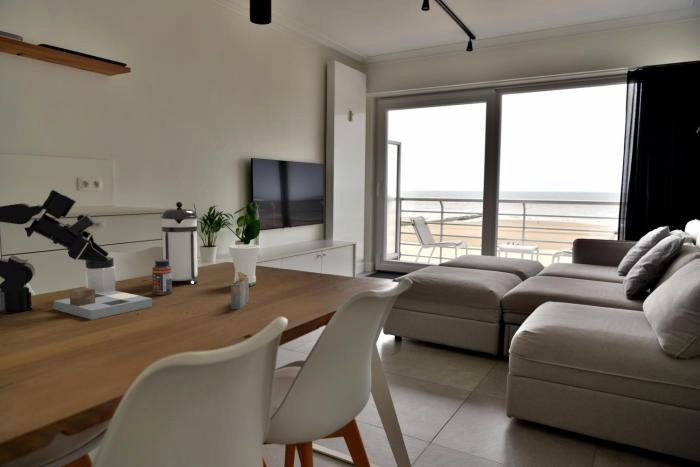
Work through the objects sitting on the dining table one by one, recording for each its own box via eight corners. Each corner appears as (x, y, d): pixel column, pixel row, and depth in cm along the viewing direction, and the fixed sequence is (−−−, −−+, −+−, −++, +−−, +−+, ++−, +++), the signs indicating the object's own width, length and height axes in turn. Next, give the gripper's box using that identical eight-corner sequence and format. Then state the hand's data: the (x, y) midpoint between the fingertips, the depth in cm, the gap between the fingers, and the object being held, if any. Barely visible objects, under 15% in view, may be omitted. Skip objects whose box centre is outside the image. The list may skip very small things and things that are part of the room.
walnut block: (78, 306, 136) (78, 291, 135) (70, 303, 138) (69, 289, 138) (95, 302, 139) (94, 288, 139) (86, 300, 142) (85, 287, 141)
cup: (226, 283, 183) (226, 245, 182) (256, 281, 188) (256, 244, 186) (233, 288, 173) (232, 248, 172) (264, 286, 178) (263, 247, 176)
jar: (81, 298, 156) (79, 260, 155) (91, 292, 164) (89, 257, 163) (111, 297, 157) (109, 260, 156) (119, 292, 165) (118, 256, 164)
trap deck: (92, 319, 131) (91, 310, 131) (53, 309, 142) (53, 300, 142) (152, 306, 146) (151, 298, 146) (113, 297, 157) (113, 290, 157)
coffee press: (212, 280, 187) (211, 201, 185) (177, 287, 174) (175, 202, 171) (181, 276, 196) (180, 200, 194) (146, 282, 183) (144, 201, 180)
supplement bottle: (148, 294, 163) (147, 260, 162) (163, 291, 168) (162, 258, 167) (161, 296, 160) (160, 261, 159) (175, 293, 165) (175, 259, 164)
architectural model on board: (239, 301, 155) (238, 271, 155) (248, 301, 155) (248, 271, 155) (229, 310, 144) (229, 277, 143) (239, 310, 144) (239, 277, 143)
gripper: (69, 210, 135) (122, 239, 142) (74, 205, 152) (122, 231, 159) (45, 245, 134) (100, 272, 141) (53, 235, 151) (102, 260, 157)
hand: (107, 257), depth 149 cm, fingers open, 9 cm apart
